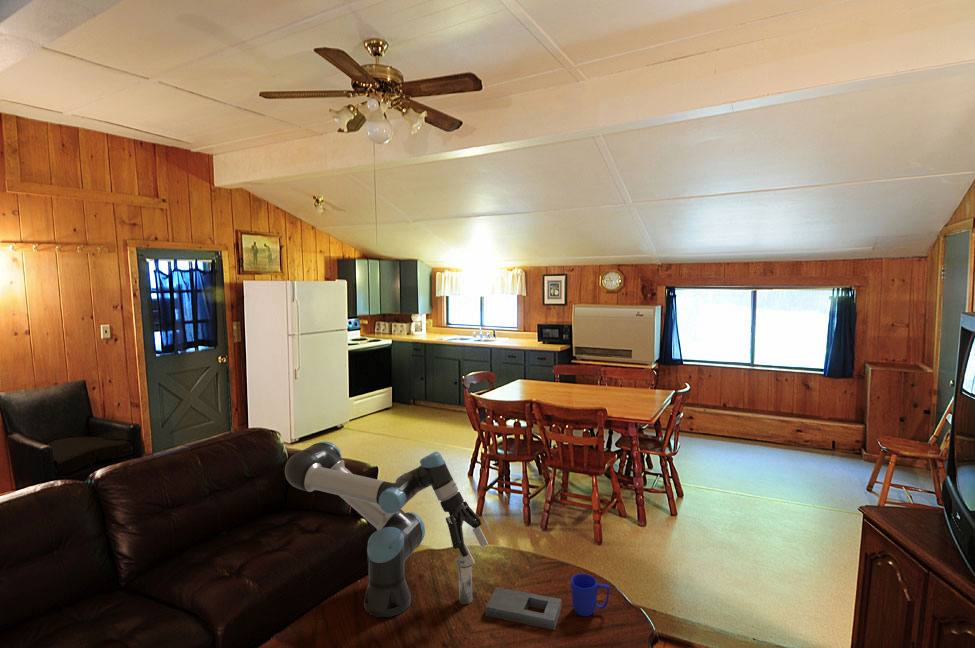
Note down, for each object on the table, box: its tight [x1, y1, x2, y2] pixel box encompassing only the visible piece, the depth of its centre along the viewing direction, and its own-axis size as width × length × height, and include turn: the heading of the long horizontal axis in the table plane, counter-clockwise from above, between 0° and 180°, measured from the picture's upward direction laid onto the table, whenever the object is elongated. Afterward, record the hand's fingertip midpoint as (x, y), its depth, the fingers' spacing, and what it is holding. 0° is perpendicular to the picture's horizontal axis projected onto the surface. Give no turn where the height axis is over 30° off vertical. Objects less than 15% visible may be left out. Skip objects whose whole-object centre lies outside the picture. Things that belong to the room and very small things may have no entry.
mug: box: [570, 573, 611, 617], centre depth 161 cm, size 8×12×10 cm
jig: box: [485, 586, 562, 631], centre depth 161 cm, size 22×11×3 cm, turn 71°
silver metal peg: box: [455, 555, 474, 605], centre depth 168 cm, size 6×6×14 cm
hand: (478, 554), depth 169 cm, fingers open, 13 cm apart
